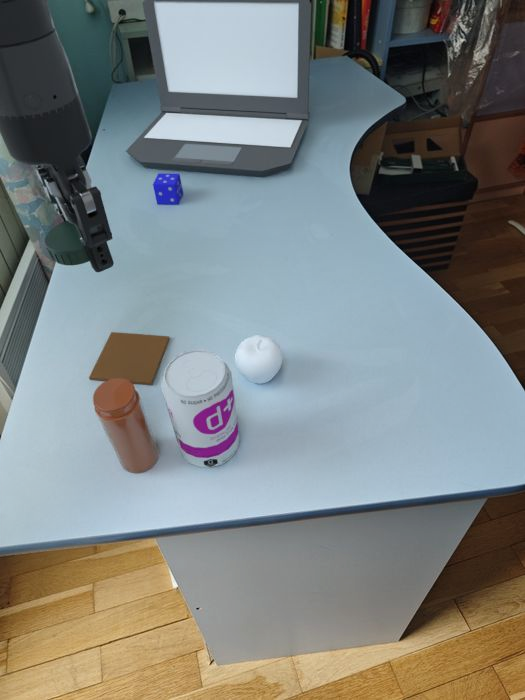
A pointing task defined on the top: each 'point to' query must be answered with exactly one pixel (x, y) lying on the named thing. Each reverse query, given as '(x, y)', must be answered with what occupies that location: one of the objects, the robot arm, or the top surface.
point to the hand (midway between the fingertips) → (92, 253)
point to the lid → (66, 245)
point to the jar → (126, 424)
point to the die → (168, 188)
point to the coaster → (130, 358)
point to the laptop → (227, 85)
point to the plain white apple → (258, 358)
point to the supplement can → (202, 407)
